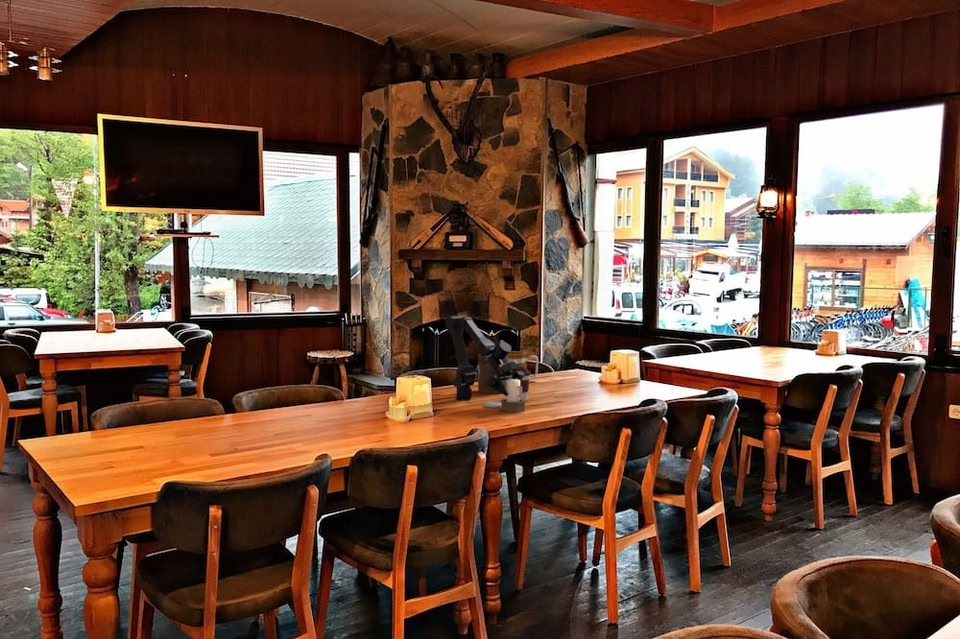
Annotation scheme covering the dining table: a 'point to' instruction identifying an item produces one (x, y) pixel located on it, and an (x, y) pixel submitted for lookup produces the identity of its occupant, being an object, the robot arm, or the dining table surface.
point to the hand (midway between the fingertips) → (515, 394)
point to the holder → (513, 406)
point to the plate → (493, 404)
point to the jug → (513, 390)
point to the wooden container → (486, 375)
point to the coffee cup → (523, 381)
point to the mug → (522, 359)
